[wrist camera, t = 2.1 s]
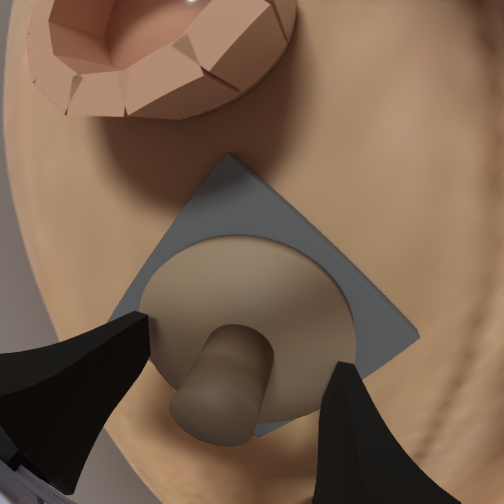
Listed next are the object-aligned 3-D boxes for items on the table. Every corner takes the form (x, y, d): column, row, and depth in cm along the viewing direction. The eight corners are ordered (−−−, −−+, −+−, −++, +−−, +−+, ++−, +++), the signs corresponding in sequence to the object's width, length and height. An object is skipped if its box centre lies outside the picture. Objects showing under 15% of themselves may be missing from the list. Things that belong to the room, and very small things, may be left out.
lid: (398, 337, 11) (420, 426, 6) (257, 427, 14) (237, 498, 10) (227, 182, 10) (163, 214, 6) (122, 325, 13) (66, 383, 9)
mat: (416, 328, 11) (420, 337, 10) (260, 429, 15) (258, 437, 14) (231, 152, 10) (225, 153, 10) (113, 316, 14) (106, 322, 14)
